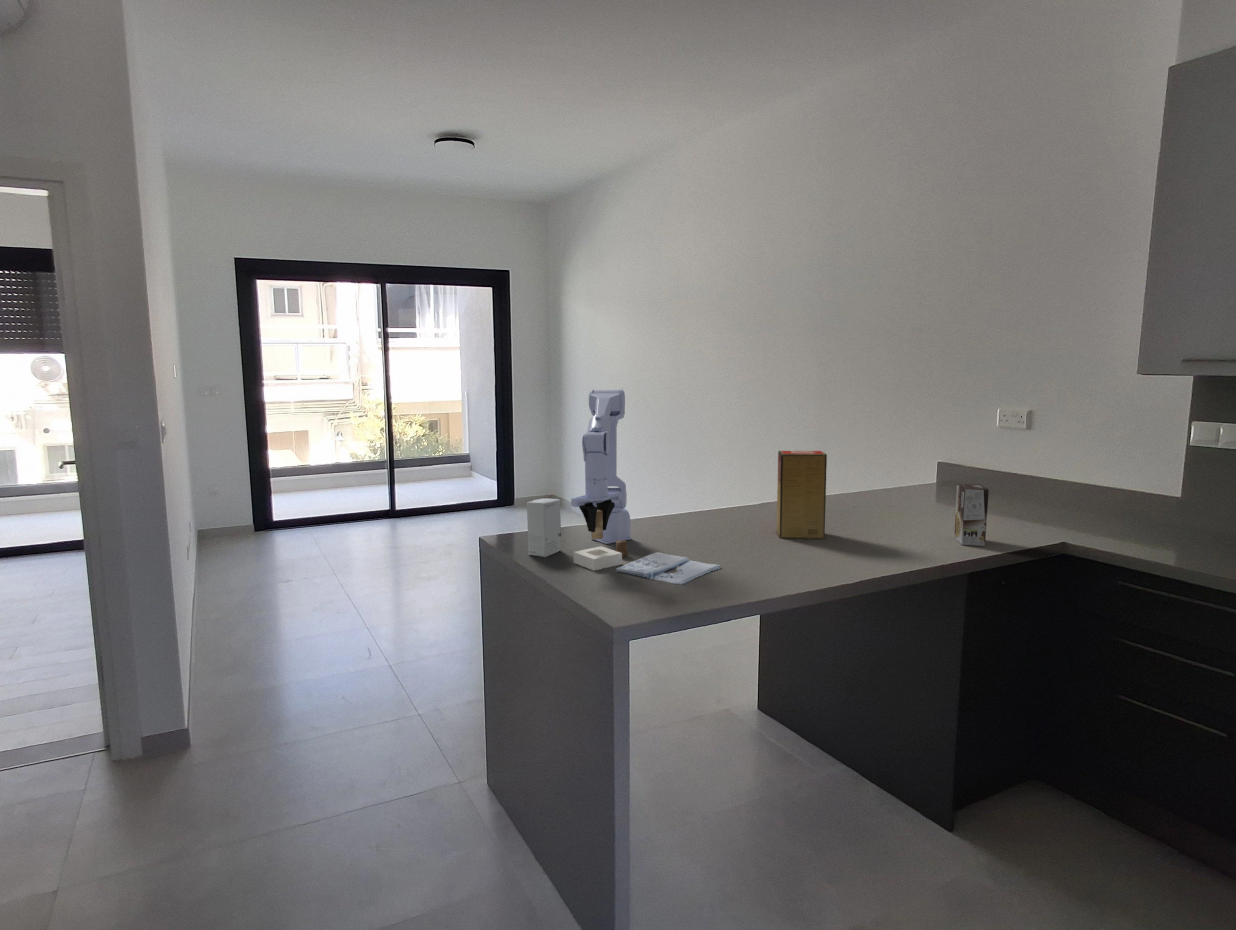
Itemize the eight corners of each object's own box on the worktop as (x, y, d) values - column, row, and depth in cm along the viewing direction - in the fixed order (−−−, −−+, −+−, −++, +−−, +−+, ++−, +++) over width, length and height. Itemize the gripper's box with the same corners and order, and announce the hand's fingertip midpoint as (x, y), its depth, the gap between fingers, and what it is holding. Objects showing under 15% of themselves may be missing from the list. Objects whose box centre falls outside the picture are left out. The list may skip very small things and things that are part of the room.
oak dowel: (598, 535, 194) (598, 509, 193) (605, 538, 191) (604, 511, 190) (589, 537, 192) (588, 511, 191) (595, 539, 189) (595, 513, 188)
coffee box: (986, 546, 205) (989, 489, 203) (961, 545, 207) (964, 488, 204) (977, 538, 214) (980, 483, 212) (953, 537, 215) (956, 483, 213)
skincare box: (545, 558, 199) (543, 503, 196) (527, 555, 202) (525, 501, 199) (562, 550, 206) (561, 498, 204) (544, 548, 209) (543, 496, 207)
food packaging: (820, 531, 224) (822, 450, 221) (825, 539, 215) (828, 454, 212) (775, 531, 226) (777, 449, 222) (779, 538, 217) (780, 454, 213)
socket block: (601, 557, 199) (601, 546, 198) (622, 564, 192) (621, 553, 191) (573, 563, 193) (573, 551, 193) (593, 570, 186) (593, 559, 186)
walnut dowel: (622, 553, 202) (622, 539, 201) (629, 556, 200) (629, 541, 199) (613, 555, 200) (613, 541, 200) (620, 558, 198) (620, 543, 197)
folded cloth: (658, 557, 200) (658, 549, 200) (723, 570, 187) (723, 562, 187) (613, 574, 185) (613, 565, 185) (680, 589, 173) (680, 580, 172)
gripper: (582, 483, 182) (583, 537, 184) (628, 477, 190) (628, 528, 192) (566, 480, 187) (567, 532, 189) (611, 474, 196) (612, 524, 198)
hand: (597, 530), depth 191 cm, fingers closed on oak dowel, 3 cm apart
